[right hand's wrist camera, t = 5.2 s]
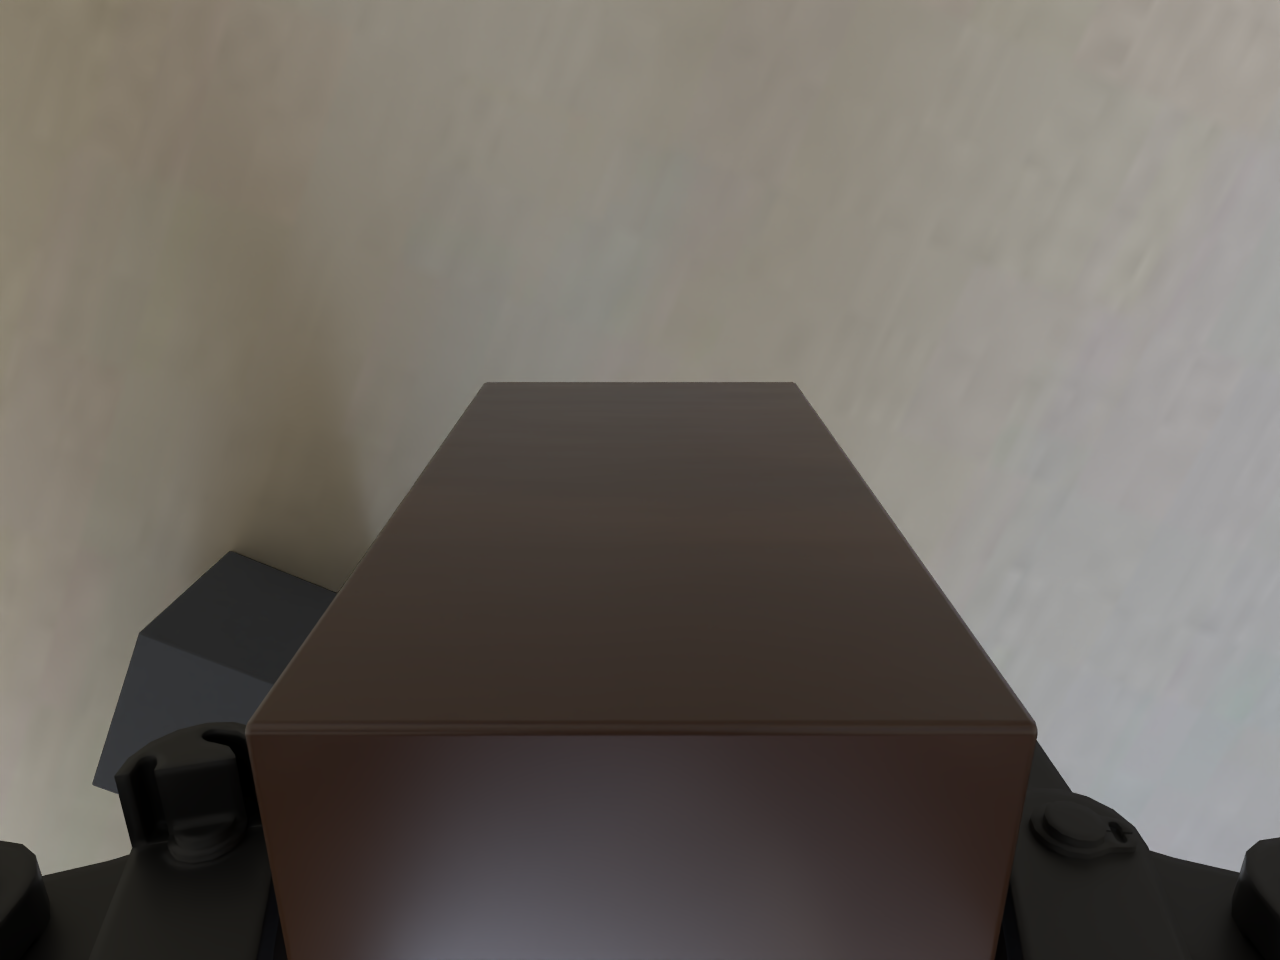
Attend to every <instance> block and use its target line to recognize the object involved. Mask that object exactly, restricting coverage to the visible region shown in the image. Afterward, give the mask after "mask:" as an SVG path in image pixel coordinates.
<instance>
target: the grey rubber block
mask: <svg viewBox="0 0 1280 960" xmlns="http://www.w3.org/2000/svg"><path fill="white" fill-rule="evenodd" d="M336 595H337V593H335V592H332V591H330V590H327V589H325V588H322V587H320V586H317V585H315V584H312V583H310V582H307V581H305V580H302V579H300V578H297V577H295V576H292V575H290V574H287V573H284V572H282V571H279V570H277V569H274V568H272V567H269V566H267V565H264V564H262V563H259V562H257V561H254V560H252V559H249V558H247V557H244V556H242V555H239V554H237V553H234V552H232V551H229V552H228V553H227V554H226V555H225V556H224V557H223V558H221V559H220V560H219V561H218V562H217V563H216V564H215V565H214V566H213V567H212V568H210V569H209V570H208V571H207V572H206V573H205V574H204V575H203V576H202V577H201V578H199V579H198V580H197V581H196V582H195V583H194V584H193V585H192V586H191V587H189V588H188V589H187V590H186V591H185V592H184V593H183V594H182V595H181V596H180V597H178V598H177V599H176V600H175V601H174V602H173V603H172V604H171V605H170V606H168V607H167V608H166V609H165V610H164V611H163V612H162V613H161V614H160V615H159V616H157V617H156V618H155V619H154V620H153V621H152V622H151V623H150V624H149V625H147V626H146V627H145V628H144V629H143V630H142V631H141V632H140V633H139V635H138V639H137V642H136V645H135V648H134V651H133V655H132V658H131V661H130V664H129V668H128V671H127V674H126V677H125V680H124V684H123V687H122V690H121V693H120V696H119V700H118V703H117V706H116V709H115V712H114V716H113V719H112V722H111V725H110V728H109V732H108V735H107V738H106V741H105V745H104V748H103V751H102V754H101V757H100V761H99V764H98V767H97V770H96V773H95V777H94V780H93V783H92V784H93V785H94V786H97V787H100V788H102V789H105V790H108V791H111V792H114V793H117V794H118V790H117V786H116V782H115V778H114V776H115V774H116V773H117V772H118V770H119V769H120V768H121V766H122V765H123V764H124V763H125V761H126V760H127V759H128V758H129V757H130V756H132V755H133V754H134V753H136V752H137V751H139V750H140V749H141V748H143V747H144V746H146V745H147V744H148V743H150V742H151V741H154V740H156V739H158V738H160V737H163V736H165V735H167V734H169V733H172V732H174V731H176V730H178V729H183V728H187V727H191V726H195V725H199V724H203V723H211V722H237V723H241V724H245V725H247V722H248V721H249V720H250V718H251V717H252V715H253V714H254V712H255V711H256V710H257V708H258V707H259V705H260V704H261V702H262V701H263V699H264V698H265V697H266V695H267V694H268V692H269V691H270V689H271V688H272V687H273V685H274V684H275V682H276V681H277V679H278V678H279V677H280V675H281V674H282V672H283V671H284V669H285V668H286V667H287V665H288V664H289V662H290V661H291V659H292V658H293V657H294V655H295V654H296V652H297V651H298V649H299V648H300V647H301V645H302V644H303V642H304V641H305V639H306V638H307V637H308V635H309V634H310V632H311V631H312V629H313V628H314V626H315V625H316V624H317V622H318V621H319V619H320V618H321V616H322V615H323V614H324V612H325V611H326V609H327V608H328V606H329V605H330V604H331V602H332V601H333V599H334V598H335V596H336Z"/></svg>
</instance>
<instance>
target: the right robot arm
mask: <svg viewBox="0 0 1280 960" xmlns="http://www.w3.org/2000/svg"><path fill="white" fill-rule="evenodd" d="M245 729H246V725H245V724H241V723H237V722H211V723H203V724H199V725H195V726H191V727H187V728H183V729H178V730H176V731H174V732H172V733H169V734H167V735H165V736H163V737H160V738H158V739H156V740H154V741H151V742H150V743H148V744H147V745H146V746H144V747H143V748H141V749H140V750H139V751H137V752H136V753H134V754H133V755H132V756H130V757H129V758H128V759H127V760H126V761H125V763H124V764H123V765H122V766H121V768H120V769H119V770H118V772H117V773H116V774H115V776H114V778H115V782H116V786H117V790H118V794H119V798H120V802H121V805H122V809H123V813H124V817H125V821H126V825H127V829H128V833H129V837H130V841H131V845H132V850H131V852H130V855H126V856H123V857H120V858H116V859H113V860H110V861H106V862H102V863H97V864H93V865H88V866H84V867H80V868H75V869H71V870H67V871H62V872H58V873H53V874H49V875H45V876H42V875H41V872H40V868H39V865H38V862H37V859H36V855H35V854H33V853H32V852H31V851H30V850H29V849H28V848H26V847H25V846H24V845H23V844H18V843H12V842H5V841H0V960H288V959H287V954H286V948H285V943H284V938H283V933H282V927H281V922H280V917H279V911H278V906H277V901H276V895H275V890H274V885H273V880H272V874H271V869H270V864H269V858H268V853H267V848H266V842H265V837H264V832H263V827H262V821H261V816H260V811H259V805H258V800H257V795H256V789H255V784H254V779H253V774H252V768H251V763H250V758H249V752H248V747H247V742H246V736H245ZM995 960H1280V837H1279V838H1273V839H1266V840H1260V841H1258V842H1257V843H1256V844H1255V845H1254V846H1252V847H1251V848H1250V849H1249V850H1248V851H1246V854H1245V858H1244V861H1243V864H1242V867H1241V871H1240V873H1239V872H1234V871H1230V870H1225V869H1221V868H1217V867H1212V866H1208V865H1203V864H1199V863H1195V862H1190V861H1186V860H1181V859H1177V858H1173V857H1170V856H1166V855H1163V854H1160V853H1156V852H1153V851H1150V850H1149V848H1148V846H1147V845H1146V843H1145V842H1144V840H1143V839H1142V837H1141V836H1140V834H1139V833H1138V831H1137V830H1136V828H1135V827H1134V826H1133V825H1132V824H1130V823H1129V822H1128V821H1127V820H1126V819H1124V818H1123V817H1122V816H1121V815H1119V814H1118V813H1117V812H1116V811H1114V810H1113V809H1111V808H1109V807H1107V806H1105V805H1103V804H1101V803H1099V802H1097V801H1095V800H1093V799H1091V798H1089V797H1087V796H1084V795H1080V794H1076V793H1073V792H1072V791H1071V790H1070V788H1069V787H1068V785H1067V784H1066V782H1065V781H1064V780H1063V778H1062V777H1061V775H1060V774H1059V772H1058V771H1057V769H1056V768H1055V766H1054V765H1053V763H1052V762H1051V761H1050V759H1049V758H1048V756H1047V755H1046V753H1045V752H1044V750H1043V749H1042V747H1041V746H1040V745H1039V743H1038V742H1037V740H1036V744H1035V750H1034V755H1033V760H1032V765H1031V771H1030V776H1029V781H1028V786H1027V792H1026V797H1025V802H1024V808H1023V813H1022V818H1021V823H1020V829H1019V834H1018V839H1017V844H1016V850H1015V855H1014V860H1013V865H1012V871H1011V876H1010V881H1009V887H1008V892H1007V897H1006V902H1005V908H1004V913H1003V918H1002V923H1001V929H1000V934H999V939H998V944H997V950H996V955H995Z"/></svg>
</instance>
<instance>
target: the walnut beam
mask: <svg viewBox="0 0 1280 960" xmlns="http://www.w3.org/2000/svg"><path fill="white" fill-rule="evenodd" d="M245 736H246V742H247V747H248V752H249V758H250V763H251V768H252V774H253V779H254V784H255V789H256V795H257V800H258V805H259V811H260V816H261V821H262V827H263V832H264V837H265V842H266V848H267V853H268V858H269V864H270V869H271V874H272V880H273V885H274V890H275V895H276V901H277V906H278V911H279V917H280V922H281V927H282V933H283V938H284V943H285V948H286V954H287V959H288V960H995V955H996V950H997V944H998V939H999V934H1000V929H1001V923H1002V918H1003V913H1004V908H1005V902H1006V897H1007V892H1008V887H1009V881H1010V876H1011V871H1012V865H1013V860H1014V855H1015V850H1016V844H1017V839H1018V834H1019V829H1020V823H1021V818H1022V813H1023V808H1024V802H1025V797H1026V792H1027V786H1028V781H1029V776H1030V771H1031V765H1032V760H1033V755H1034V750H1035V744H1036V739H1037V726H1036V723H1035V721H1034V720H1033V718H1032V717H1031V715H1030V714H1029V713H1028V711H1027V710H1026V708H1025V707H1024V705H1023V704H1022V703H1021V701H1020V700H1019V698H1018V697H1017V696H1016V694H1015V693H1014V691H1013V690H1012V689H1011V687H1010V686H1009V684H1008V683H1007V681H1006V680H1005V679H1004V677H1003V676H1002V674H1001V673H1000V672H999V670H998V669H997V667H996V666H995V665H994V663H993V662H992V660H991V659H990V657H989V656H988V655H987V653H986V652H985V650H984V649H983V648H982V646H981V645H980V643H979V642H978V641H977V639H976V638H975V636H974V635H973V633H972V632H971V631H970V629H969V628H968V626H967V625H966V624H965V622H964V621H963V619H962V618H961V616H960V615H959V614H958V612H957V611H956V609H955V608H954V607H953V605H952V604H951V602H950V601H949V600H948V598H947V597H946V595H945V594H944V592H943V591H942V590H941V588H940V587H939V585H938V584H937V583H936V581H935V580H934V578H933V577H932V576H931V574H930V573H929V571H928V570H927V568H926V567H925V566H924V564H923V563H922V561H921V560H920V559H919V557H918V556H917V554H916V553H915V551H914V550H913V549H912V547H911V546H910V544H909V543H908V542H907V540H906V539H905V537H904V536H903V535H902V533H901V532H900V530H899V529H898V527H897V526H896V525H895V523H894V522H893V520H892V519H891V518H890V516H889V515H888V513H887V512H886V511H885V509H884V508H883V506H882V505H881V503H880V502H879V501H878V499H877V498H876V496H875V495H874V494H873V492H872V491H871V489H870V488H869V487H868V485H867V484H866V482H865V481H864V479H863V478H862V477H861V475H860V474H859V472H858V471H857V470H856V468H855V467H854V465H853V464H852V462H851V461H850V460H849V458H848V457H847V455H846V454H845V453H844V451H843V450H842V448H841V447H840V446H839V444H838V443H837V441H836V440H835V438H834V437H833V436H832V434H831V433H830V431H829V430H828V429H827V427H826V426H825V424H824V423H823V422H822V420H821V419H820V417H819V416H818V414H817V413H816V412H815V410H814V409H813V407H812V406H811V405H810V403H809V402H808V400H807V399H806V397H805V396H804V395H803V393H802V392H801V390H800V389H799V388H798V386H797V385H796V384H795V383H793V382H487V383H485V384H484V385H483V386H482V387H481V389H480V390H479V392H478V393H477V395H476V396H475V397H474V399H473V400H472V402H471V403H470V405H469V406H468V408H467V409H466V410H465V412H464V413H463V415H462V416H461V418H460V419H459V420H458V422H457V423H456V425H455V426H454V428H453V429H452V430H451V432H450V433H449V435H448V436H447V438H446V439H445V440H444V442H443V443H442V445H441V446H440V448H439V449H438V450H437V452H436V453H435V455H434V456H433V458H432V459H431V460H430V462H429V463H428V465H427V466H426V468H425V469H424V470H423V472H422V473H421V475H420V476H419V478H418V479H417V481H416V482H415V483H414V485H413V486H412V488H411V489H410V491H409V492H408V493H407V495H406V496H405V498H404V499H403V501H402V502H401V503H400V505H399V506H398V508H397V509H396V511H395V512H394V513H393V515H392V516H391V518H390V519H389V521H388V522H387V523H386V525H385V526H384V528H383V529H382V531H381V532H380V533H379V535H378V536H377V538H376V539H375V541H374V542H373V543H372V545H371V546H370V548H369V549H368V551H367V552H366V553H365V555H364V556H363V558H362V559H361V561H360V562H359V564H358V565H357V566H356V568H355V569H354V571H353V572H352V574H351V575H350V576H349V578H348V579H347V581H346V582H345V584H344V585H343V586H342V588H341V589H340V591H339V592H338V594H337V595H336V596H335V598H334V599H333V601H332V602H331V604H330V605H329V606H328V608H327V609H326V611H325V612H324V614H323V615H322V616H321V618H320V619H319V621H318V622H317V624H316V625H315V626H314V628H313V629H312V631H311V632H310V634H309V635H308V637H307V638H306V639H305V641H304V642H303V644H302V645H301V647H300V648H299V649H298V651H297V652H296V654H295V655H294V657H293V658H292V659H291V661H290V662H289V664H288V665H287V667H286V668H285V669H284V671H283V672H282V674H281V675H280V677H279V678H278V679H277V681H276V682H275V684H274V685H273V687H272V688H271V689H270V691H269V692H268V694H267V695H266V697H265V698H264V699H263V701H262V702H261V704H260V705H259V707H258V708H257V710H256V711H255V712H254V714H253V715H252V717H251V718H250V720H249V721H248V722H247V725H246V729H245Z"/></svg>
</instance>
